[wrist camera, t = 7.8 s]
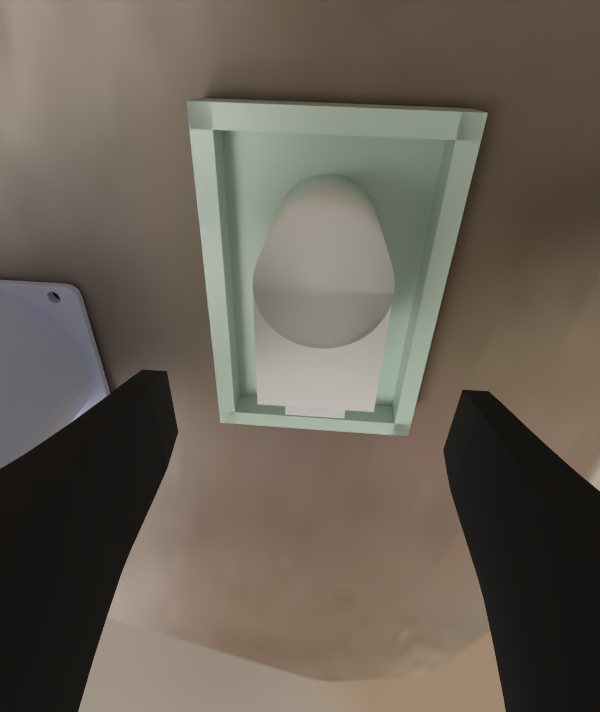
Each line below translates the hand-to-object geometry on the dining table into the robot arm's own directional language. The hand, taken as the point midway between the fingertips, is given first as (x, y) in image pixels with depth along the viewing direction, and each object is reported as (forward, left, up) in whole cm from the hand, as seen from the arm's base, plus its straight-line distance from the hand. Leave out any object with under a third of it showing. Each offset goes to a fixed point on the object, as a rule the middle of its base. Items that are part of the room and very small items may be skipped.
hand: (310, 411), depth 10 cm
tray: (0, 0, -8) cm, 8 cm away
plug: (0, 0, -7) cm, 7 cm away
